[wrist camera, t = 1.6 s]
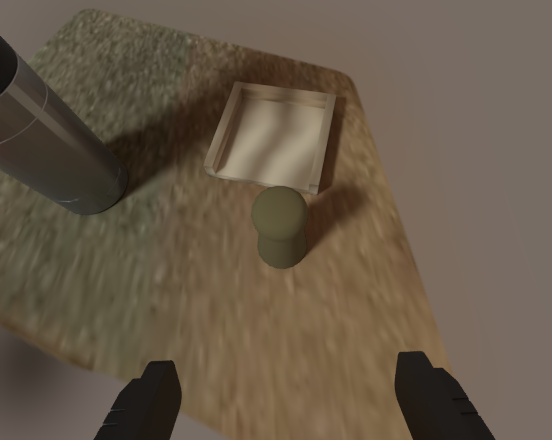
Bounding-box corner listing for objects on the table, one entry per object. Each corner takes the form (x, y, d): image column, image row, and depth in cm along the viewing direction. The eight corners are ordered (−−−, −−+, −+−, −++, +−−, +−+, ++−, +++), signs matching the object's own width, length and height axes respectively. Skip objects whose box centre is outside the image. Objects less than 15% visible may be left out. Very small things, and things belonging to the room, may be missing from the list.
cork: (248, 253, 34) (230, 217, 24) (273, 213, 36) (266, 164, 26) (291, 278, 33) (292, 251, 23) (315, 235, 35) (326, 192, 25)
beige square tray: (208, 175, 39) (203, 165, 36) (238, 94, 44) (235, 81, 42) (316, 195, 37) (318, 185, 34) (333, 107, 42) (336, 94, 40)
